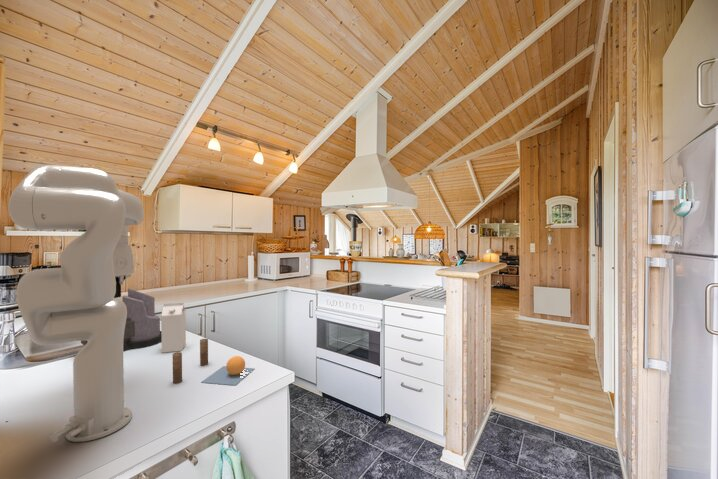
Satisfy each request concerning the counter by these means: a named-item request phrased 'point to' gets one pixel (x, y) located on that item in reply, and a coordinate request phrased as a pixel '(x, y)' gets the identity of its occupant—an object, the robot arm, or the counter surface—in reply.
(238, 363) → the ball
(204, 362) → the outer post
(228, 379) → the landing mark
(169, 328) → the milk carton
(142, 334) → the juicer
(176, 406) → the counter surface
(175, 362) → the inner post
